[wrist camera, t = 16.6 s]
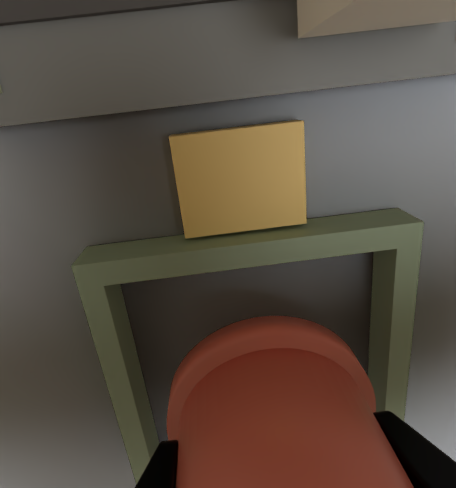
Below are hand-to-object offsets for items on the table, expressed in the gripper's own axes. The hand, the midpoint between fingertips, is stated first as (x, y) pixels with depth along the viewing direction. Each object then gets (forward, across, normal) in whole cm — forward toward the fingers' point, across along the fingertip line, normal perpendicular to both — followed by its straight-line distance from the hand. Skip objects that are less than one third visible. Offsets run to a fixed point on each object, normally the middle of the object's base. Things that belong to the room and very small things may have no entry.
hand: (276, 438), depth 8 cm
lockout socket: (+3, 0, -1) cm, 3 cm away
